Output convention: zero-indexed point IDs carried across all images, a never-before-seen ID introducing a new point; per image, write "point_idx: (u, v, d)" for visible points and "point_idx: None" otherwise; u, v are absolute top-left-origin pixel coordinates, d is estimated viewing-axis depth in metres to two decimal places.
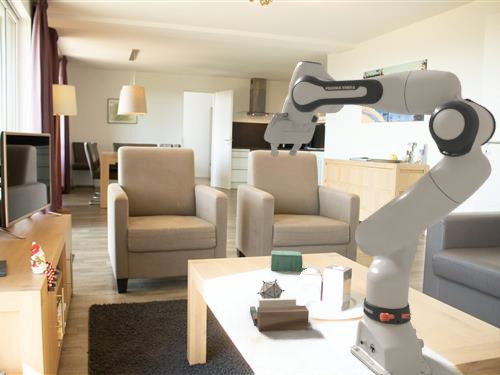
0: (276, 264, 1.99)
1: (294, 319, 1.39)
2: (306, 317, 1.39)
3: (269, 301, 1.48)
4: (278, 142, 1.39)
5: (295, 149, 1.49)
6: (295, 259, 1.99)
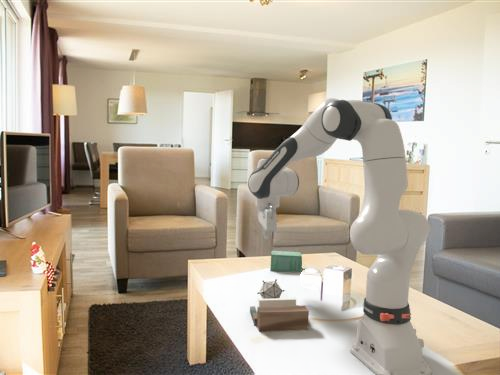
0: (275, 264, 1.98)
1: (294, 319, 1.39)
2: (306, 317, 1.39)
3: (269, 301, 1.48)
4: None
5: None
6: (294, 259, 1.98)
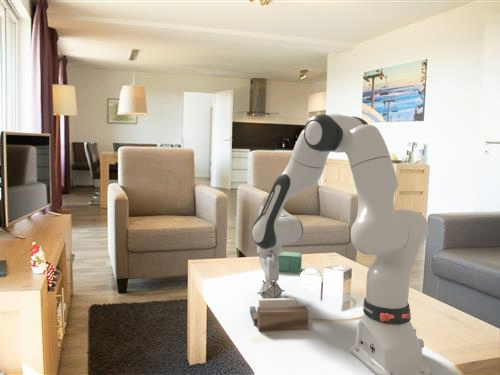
0: None
1: (294, 319, 1.39)
2: (306, 317, 1.39)
3: (269, 301, 1.48)
4: None
5: None
6: (293, 260, 1.97)
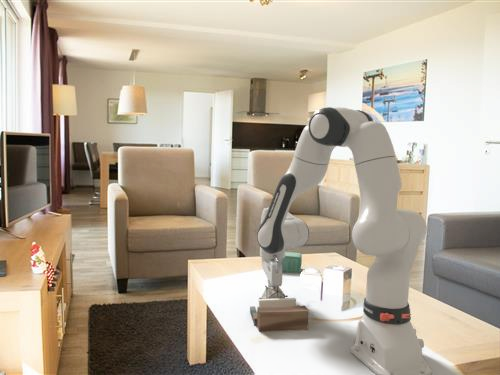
0: None
1: (294, 319, 1.39)
2: (306, 317, 1.39)
3: (269, 301, 1.48)
4: None
5: None
6: (293, 260, 1.96)
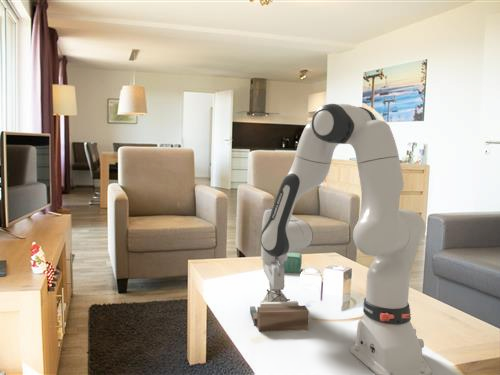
0: None
1: (294, 319, 1.39)
2: (306, 317, 1.39)
3: (271, 305, 1.45)
4: None
5: None
6: (292, 260, 1.96)
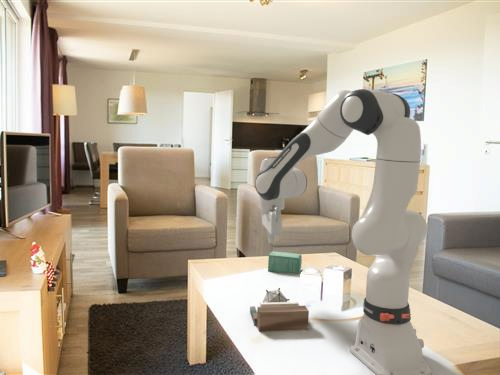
0: (273, 265, 1.97)
1: (294, 319, 1.39)
2: (306, 317, 1.39)
3: (271, 305, 1.45)
4: None
5: None
6: (291, 261, 1.95)
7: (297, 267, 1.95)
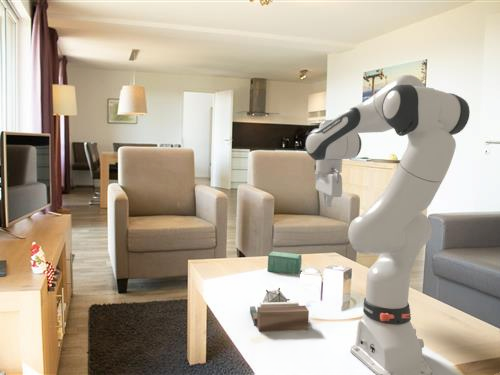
0: (272, 265, 1.97)
1: (294, 319, 1.39)
2: (306, 317, 1.39)
3: (271, 305, 1.45)
4: None
5: None
6: (291, 261, 1.95)
7: (296, 267, 1.94)
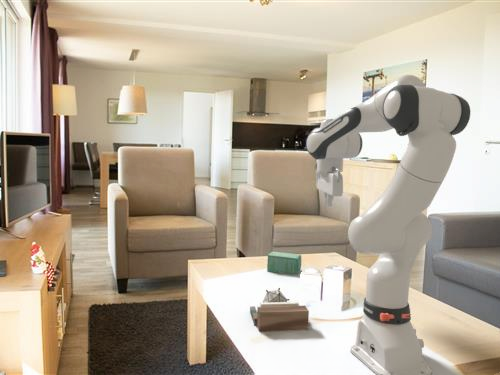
0: (272, 265, 1.97)
1: (294, 319, 1.39)
2: (306, 317, 1.39)
3: (271, 305, 1.45)
4: None
5: None
6: (290, 261, 1.94)
7: (296, 268, 1.94)
